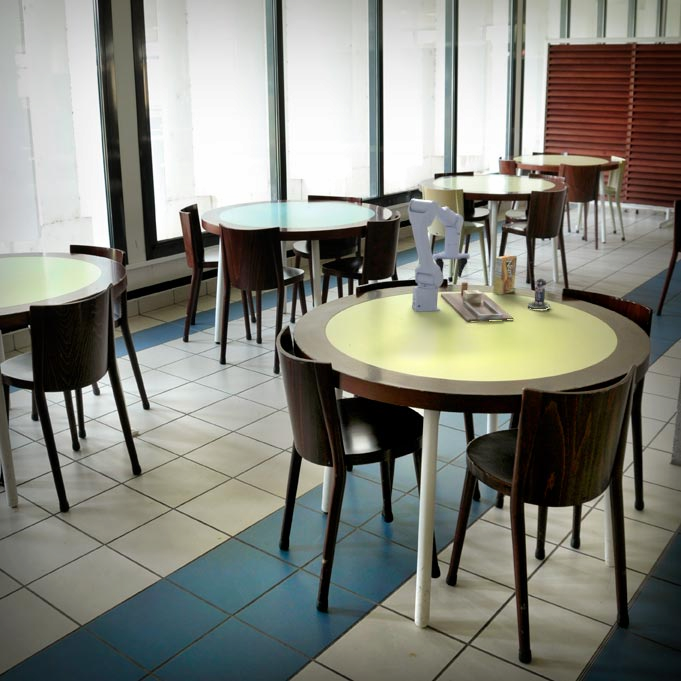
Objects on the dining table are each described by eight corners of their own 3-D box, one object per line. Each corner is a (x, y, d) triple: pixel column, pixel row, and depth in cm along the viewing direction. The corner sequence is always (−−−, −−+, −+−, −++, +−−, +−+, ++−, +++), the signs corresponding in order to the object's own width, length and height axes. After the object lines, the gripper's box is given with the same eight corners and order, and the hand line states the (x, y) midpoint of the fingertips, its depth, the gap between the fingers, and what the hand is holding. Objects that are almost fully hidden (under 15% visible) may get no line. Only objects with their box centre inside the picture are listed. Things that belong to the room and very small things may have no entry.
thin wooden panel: (467, 322, 313) (467, 315, 312) (440, 296, 347) (441, 290, 346) (513, 320, 316) (513, 314, 315) (482, 294, 349) (483, 289, 349)
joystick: (466, 303, 333) (467, 291, 331) (456, 294, 346) (456, 282, 344) (481, 303, 333) (481, 290, 332) (470, 293, 347) (471, 281, 345)
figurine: (526, 304, 337) (529, 275, 333) (548, 305, 336) (551, 276, 332) (528, 310, 329) (531, 280, 325) (551, 311, 328) (553, 281, 324)
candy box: (506, 289, 358) (509, 254, 353) (514, 291, 355) (517, 256, 350) (492, 292, 353) (495, 257, 348) (500, 295, 350) (503, 258, 345)
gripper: (466, 241, 340) (464, 273, 344) (431, 241, 338) (430, 274, 342) (471, 244, 333) (469, 278, 338) (436, 245, 331) (434, 279, 335)
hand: (450, 276), depth 339 cm, fingers open, 7 cm apart
